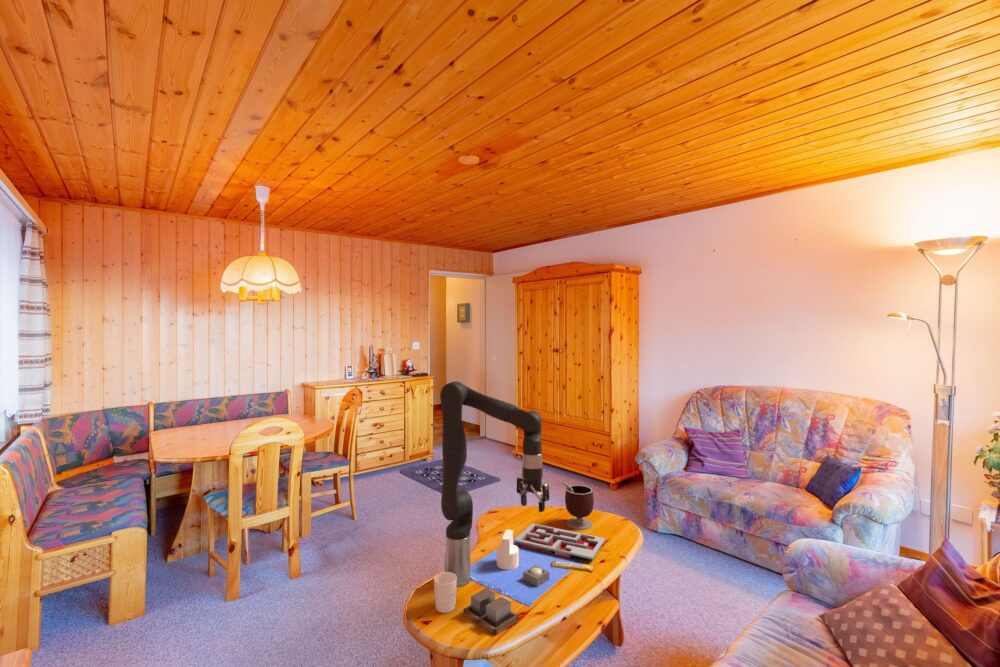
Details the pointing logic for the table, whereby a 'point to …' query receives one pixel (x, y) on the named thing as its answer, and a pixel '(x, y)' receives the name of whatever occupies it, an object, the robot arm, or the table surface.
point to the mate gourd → (579, 505)
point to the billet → (498, 612)
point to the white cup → (445, 591)
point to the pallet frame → (487, 626)
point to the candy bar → (572, 566)
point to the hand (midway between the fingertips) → (532, 508)
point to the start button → (536, 571)
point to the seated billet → (481, 601)
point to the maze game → (560, 541)
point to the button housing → (536, 579)
